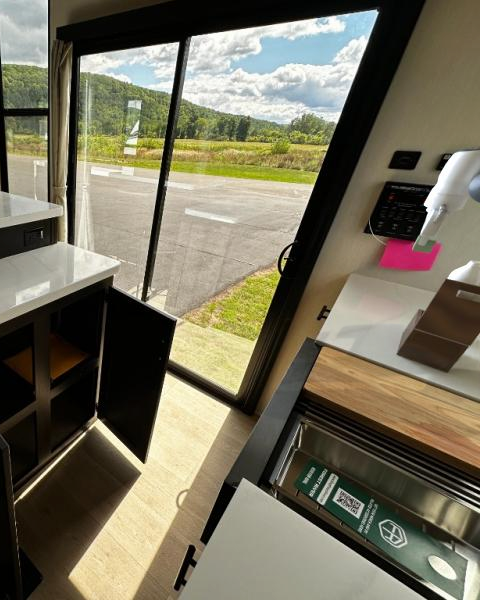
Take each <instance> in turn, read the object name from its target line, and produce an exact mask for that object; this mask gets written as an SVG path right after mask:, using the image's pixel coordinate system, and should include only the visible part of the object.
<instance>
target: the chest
mask: <svg viewBox="0 0 480 600" xmlns="http://www.w3.org/2000/svg"><path fill="white" fill-rule="evenodd" d="M425 310H426V309H425ZM425 310H424V309H422V308H418V310H417V311H416V312H415V313H414V315H413V317H412V318H411V319H410V321H409V323H408V324H407V326H406V328H405V329H404V331H403V332H402V334H401V338H400V341H399V344H398V348H397V350H396V355H397V356H400V357H403V358H405V359H408V360H410V361H413V362H414V361H415V362H417V363H419V364H422V365H424V366H428V367H430V368H433V369H436V370H439V371H442V372H443V373H447V374H448V373H449V372H450V371H451V370H452V369H453V367H454V366H455V364H456V363H457V362H458V361H459V360H460V358H462V356H463V355H464V354H465V353H466V351H467V350H468V349H469V348H470V346H469V345H466V344H462V343H459V342H456V341H453V340H450V339H447V338H443V337H440V336H437V335H434V334H431V333H428V332H424V331H421V330H418V329H415V328H414V327H415V325H416V324H417V322H418V321H419V319H420V317H421V316H422V314H423V313H424V311H425Z"/></svg>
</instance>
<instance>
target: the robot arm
mask: <svg viewBox="0 0 480 600" xmlns="http://www.w3.org/2000/svg"><path fill="white" fill-rule="evenodd" d="M436 182H437V183H436V184H435V186H434V187H433V188H432V189H431V191H430V192H429V194H428V196H427V197H426V199H425V201H424V203H423V206H425V208H426V209H425V210H426V212H427V215H426V218H425V220H424V223H423V226H422V228H421V230H420V234H419V235H421V236H422V237H421V239H420V241H419V242H418V245H422V246H424V245H425V244H426V243H427V241H428V240H429V239H430V237H431V238H434V237H437V235H438V233H439V232H440V231H441V228H442V226H443V225H444V223H445V221H446V220H447V217H448V216H451V215H454V213H455V212H459V211H461V210H463V208H464V207H465V205H466V203H467V202H468V201H469V198H471V199H472V200H473V201H475V202H477V203H479V204H480V146H473V147H472V146H471V147H466V148H462V149H460V150H458V151H456V152H455V153H453V154H452V155H451V157H450V158H449V159H448V161H447V162H446V163H445V165H444V167H443V168H442V170H441V172H440V173H439V175H438V179H437V181H436Z"/></svg>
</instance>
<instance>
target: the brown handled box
mask: <svg viewBox="0 0 480 600" xmlns="http://www.w3.org/2000/svg"><path fill="white" fill-rule="evenodd" d="M414 328H415V329H418V330H421V331H424V332H428V333H431V334H434V335H437V336H440V337H443V338H447V339H450V340H453V341H456V342H459V343H462V344H466V345H469V347H471V346H472V345H473V343H474V342H475V340H476V339H477V338H478V336H479V335H480V285H473V284H469V283H464V282H460V281H456V280H451V279H448V277H447V278H444V280H443V282H442V283H441V285H440V286H439V288H438V290H437V291H436V293H435V294H434V296H433V298H431V300H430V302H429V303H428V305H427V306H426V308H425V311H424V313H423V314H422V316H421V317H420V319H419V321H418V322H417V324H416V325H415V327H414Z"/></svg>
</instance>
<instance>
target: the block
mask: <svg viewBox="0 0 480 600" xmlns="http://www.w3.org/2000/svg"><path fill="white" fill-rule="evenodd" d="M421 237H422V236H421V235H420V234H419V235H418V236H417V238H416V240H415V242H414V244H413V246H412V249H411V251H414V252H419V253H423V254H424V253H425V254H431V253H432V250H433V248H434V247H435V245H436V243H437V241H438V236H435V237H434V238H431V237H430V239H429V240H428V241H427V243H426V244H425V245H424V246H422V245H418V242H419V241H420V239H421Z"/></svg>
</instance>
